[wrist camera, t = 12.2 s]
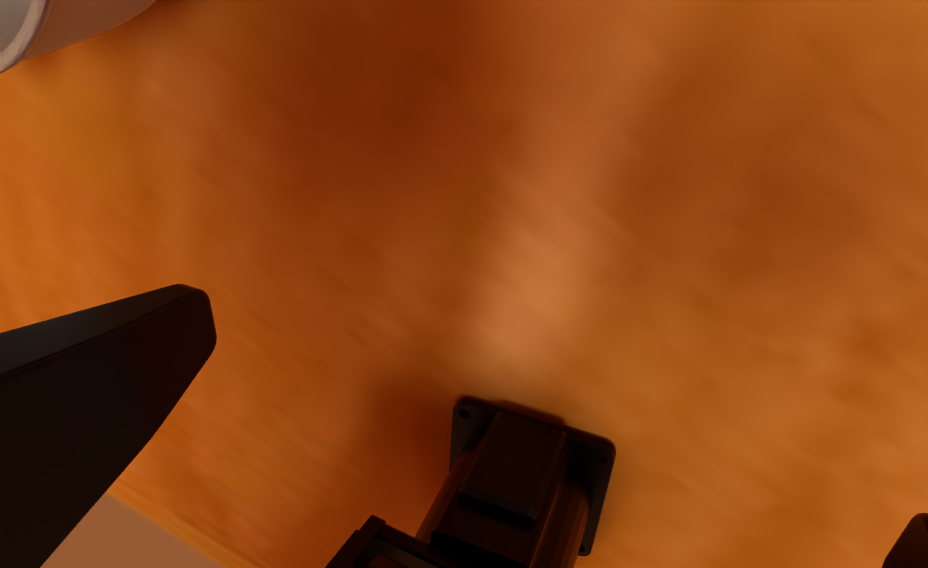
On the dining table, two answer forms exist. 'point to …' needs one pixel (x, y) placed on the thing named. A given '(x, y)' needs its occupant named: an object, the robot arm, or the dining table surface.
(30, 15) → the teacup
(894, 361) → the dining table surface
